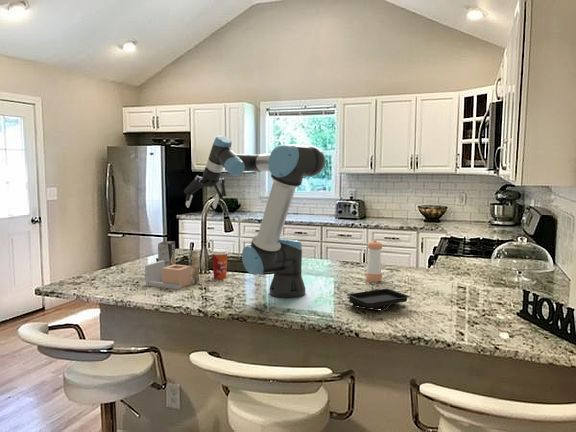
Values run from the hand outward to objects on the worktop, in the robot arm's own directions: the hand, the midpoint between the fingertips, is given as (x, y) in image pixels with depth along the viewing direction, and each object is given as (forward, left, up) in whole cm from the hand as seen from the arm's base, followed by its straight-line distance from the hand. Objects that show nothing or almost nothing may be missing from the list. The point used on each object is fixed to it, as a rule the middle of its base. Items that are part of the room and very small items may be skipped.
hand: (200, 206), depth 222 cm
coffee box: (+19, +1, -34) cm, 39 cm away
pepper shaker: (-77, -28, -34) cm, 89 cm away
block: (0, +20, -33) cm, 38 cm away
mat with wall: (+4, +16, -34) cm, 38 cm away
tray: (-87, +13, -35) cm, 94 cm away
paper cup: (-10, 0, -34) cm, 36 cm away
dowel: (-3, +10, -33) cm, 35 cm away
